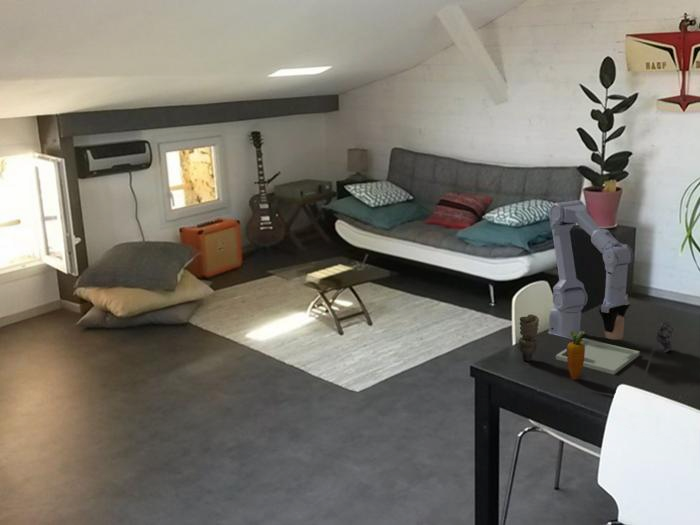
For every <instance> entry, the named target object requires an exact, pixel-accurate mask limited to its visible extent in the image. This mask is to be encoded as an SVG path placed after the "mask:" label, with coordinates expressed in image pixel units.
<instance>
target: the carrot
mask: <svg viewBox="0 0 700 525" xmlns="http://www.w3.org/2000/svg"><path fill="white" fill-rule="evenodd" d="M582 332H583V331H582ZM582 332H580V333H579V334H578V336H577V338H576V334H574V333H573V331H571V335H572V338H573V339H572V340H573V341H572V342H569V343H568V344H567V346H568V351H567V362H566V363H567V368H568V372H569V375H570V378H571V380H573V381H577V380H578V378H579V377H580V375H581V373H582V370H583V368H584V367H583V363H584V355H585V345H584V344H582V343H580V342H581V341H583V339H582V337H583V335H584V334H583V333H582Z"/></svg>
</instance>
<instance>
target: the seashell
mask: <svg viewBox="0 0 700 525" xmlns="http://www.w3.org/2000/svg"><path fill="white" fill-rule="evenodd" d="M656 334H657V336H656V339H655V340H656V341H657V342H658V343H660V344H661V346H662V348H663V351H664V353H667V352H669V351H672V350H673V345H672V344H671V342H672V341H673V340H674V339H675V337H676V334H675V333H674V328H673V326H672V324H671V323H670V322H669V321H667V320H665V321H662V322H661V323H660V325H659V328H658V329H657V330H656Z"/></svg>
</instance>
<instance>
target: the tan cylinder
mask: <svg viewBox="0 0 700 525" xmlns="http://www.w3.org/2000/svg"><path fill="white" fill-rule="evenodd" d="M624 328H625V316H624V317H623V316H621V315H618V316H617V318H616V321H615V326H614V330H613V332H612V333H611V332H607V331H605V330H604V337H605V338H607V339H610V340H622V339H623V338H624V331H625V330H624Z"/></svg>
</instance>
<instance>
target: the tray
mask: <svg viewBox="0 0 700 525" xmlns="http://www.w3.org/2000/svg"><path fill="white" fill-rule="evenodd" d="M581 339H583V341H581V342H580V343H582V344H584V345H585V355H584V363H583V367H582V368H584V367H585V368H587V369H591V370H595V371H599V372H602V373H605V374H610V375H616V374H617V373H618V372H620V371H621V370H622V369H623V368H625V367H626V366H628V365H629V364H630V363H631V362H633V361H634V360H635V359H637V358H638V357H639V356H640V351H639V350H635V349H631V348H627V347H622V346H620V345H619V346H618V345H614V344H609V343H606V342H601V341H597V340H594V339H590V338H589V339H588V338H585V337H583V338H582V337H581ZM566 353H567V348H565V349H564V350H561V351H560V352H558V353H557V354H556V355H555V360H557V361H561V362H565V363H568V362H567V357H566Z"/></svg>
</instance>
